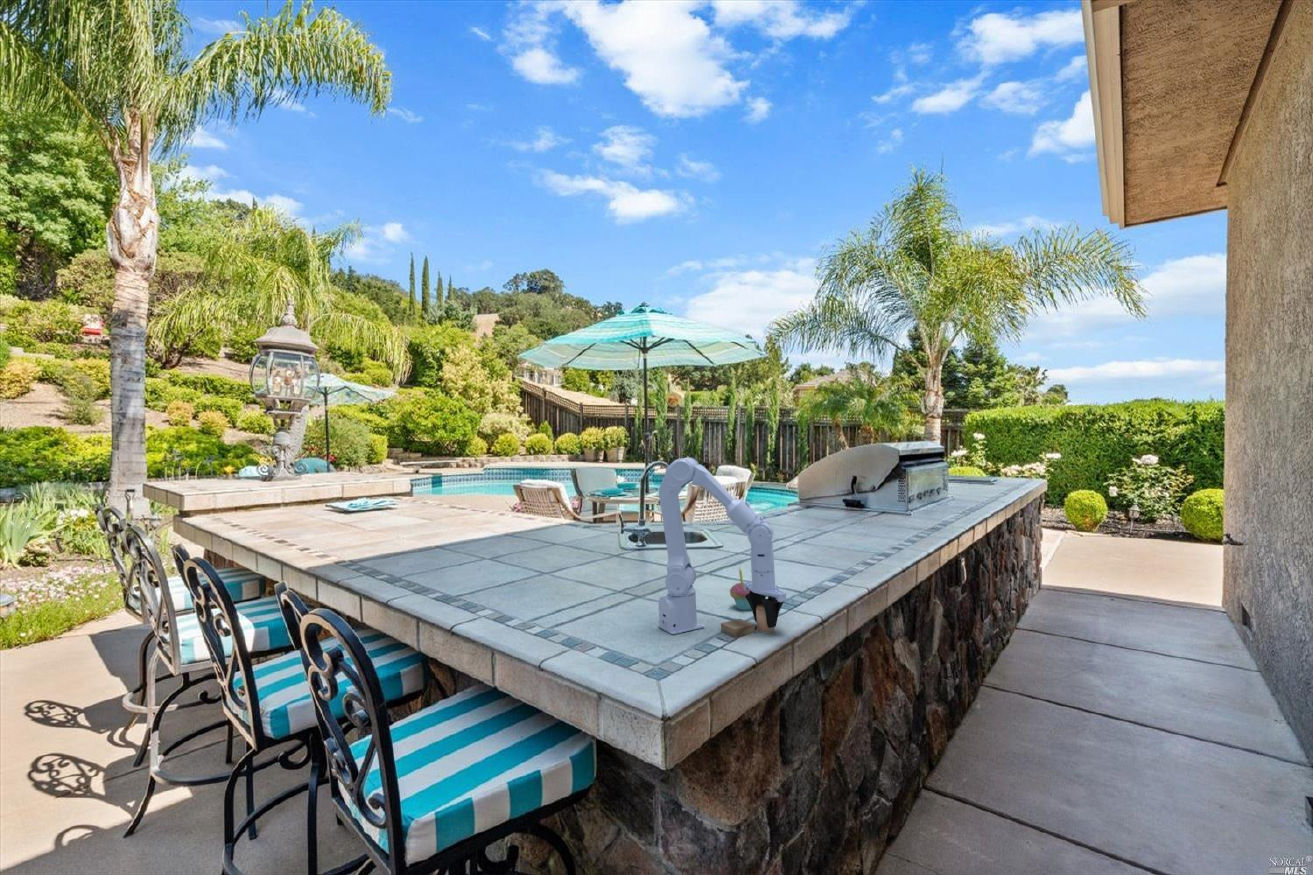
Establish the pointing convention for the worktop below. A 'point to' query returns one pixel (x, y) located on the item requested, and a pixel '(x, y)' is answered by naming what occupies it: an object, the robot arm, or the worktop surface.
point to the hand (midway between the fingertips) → (765, 624)
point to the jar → (762, 620)
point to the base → (737, 628)
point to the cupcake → (740, 594)
